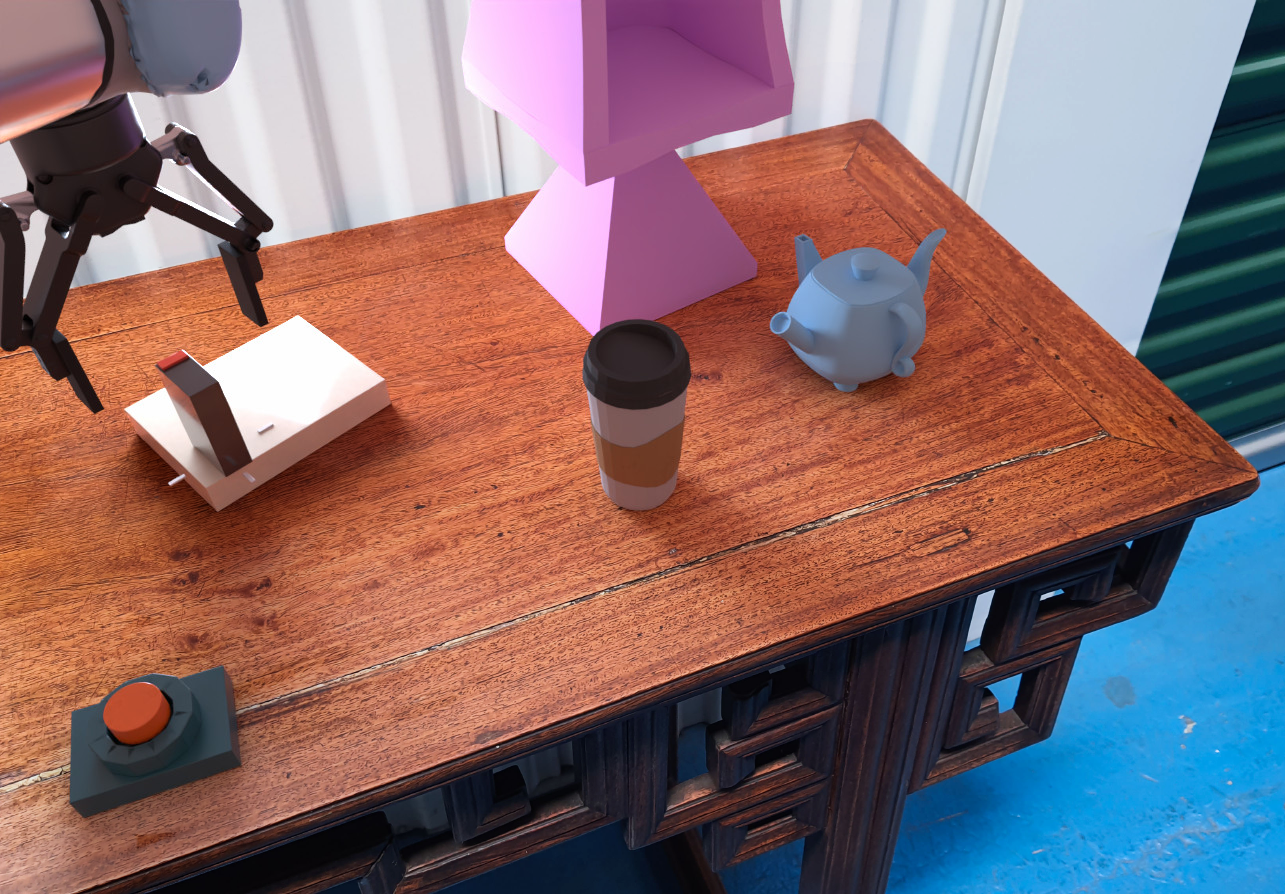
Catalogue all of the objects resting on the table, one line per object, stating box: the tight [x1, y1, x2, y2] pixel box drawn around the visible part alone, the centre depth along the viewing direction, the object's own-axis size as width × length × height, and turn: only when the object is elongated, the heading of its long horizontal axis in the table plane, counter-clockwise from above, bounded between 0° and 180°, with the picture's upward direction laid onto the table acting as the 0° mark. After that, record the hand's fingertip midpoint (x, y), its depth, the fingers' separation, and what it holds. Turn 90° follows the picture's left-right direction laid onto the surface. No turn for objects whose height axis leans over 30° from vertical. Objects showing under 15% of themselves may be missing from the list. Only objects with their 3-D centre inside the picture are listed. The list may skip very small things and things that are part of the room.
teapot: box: [769, 227, 947, 393], centre depth 92 cm, size 15×14×11 cm
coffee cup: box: [581, 319, 692, 512], centre depth 79 cm, size 8×8×15 cm
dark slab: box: [154, 349, 253, 477], centre depth 80 cm, size 6×2×9 cm, turn 47°
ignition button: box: [103, 682, 171, 745], centre depth 65 cm, size 4×4×2 cm
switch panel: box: [123, 315, 392, 513], centre depth 89 cm, size 20×16×3 cm
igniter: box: [68, 664, 242, 819], centre depth 67 cm, size 10×7×4 cm
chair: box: [461, 0, 795, 337], centre depth 91 cm, size 22×22×45 cm
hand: (177, 359), depth 76 cm, fingers open, 13 cm apart
